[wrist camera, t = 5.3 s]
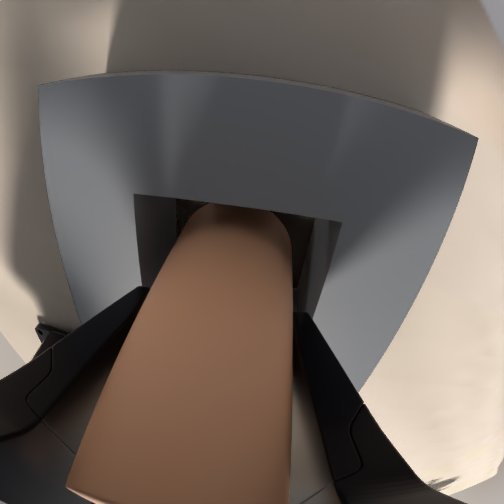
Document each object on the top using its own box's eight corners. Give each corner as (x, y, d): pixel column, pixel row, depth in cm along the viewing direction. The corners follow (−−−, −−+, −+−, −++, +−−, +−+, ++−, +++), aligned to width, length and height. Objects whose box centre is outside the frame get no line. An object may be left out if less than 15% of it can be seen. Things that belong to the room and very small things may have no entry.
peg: (281, 300, 12) (266, 542, 5) (181, 285, 12) (102, 508, 5) (301, 208, 10) (316, 530, 3) (181, 192, 10) (25, 459, 3)
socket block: (342, 340, 16) (350, 403, 13) (125, 307, 16) (96, 362, 13) (421, 112, 9) (478, 138, 6) (105, 73, 10) (38, 85, 6)
